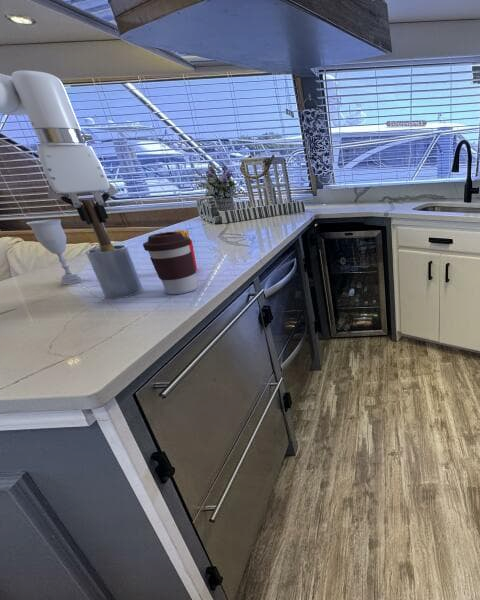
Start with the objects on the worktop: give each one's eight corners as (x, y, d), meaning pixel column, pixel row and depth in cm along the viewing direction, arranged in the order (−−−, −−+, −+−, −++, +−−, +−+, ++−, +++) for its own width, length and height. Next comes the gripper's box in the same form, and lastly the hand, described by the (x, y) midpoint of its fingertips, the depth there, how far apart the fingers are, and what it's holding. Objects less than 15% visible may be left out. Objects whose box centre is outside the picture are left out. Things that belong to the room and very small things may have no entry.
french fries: (197, 267, 106) (185, 227, 101) (201, 269, 103) (189, 229, 98) (164, 274, 100) (150, 232, 95) (168, 277, 97) (153, 234, 92)
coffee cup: (175, 284, 90) (157, 231, 84) (210, 282, 91) (195, 229, 85) (151, 298, 81) (130, 239, 75) (191, 296, 81) (172, 237, 76)
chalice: (50, 284, 95) (19, 223, 87) (77, 277, 101) (50, 219, 93) (67, 286, 93) (36, 223, 85) (93, 278, 98) (67, 219, 91)
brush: (107, 272, 81) (76, 200, 74) (105, 269, 83) (74, 199, 76) (126, 268, 83) (98, 198, 76) (124, 266, 86) (96, 197, 79)
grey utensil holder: (107, 301, 81) (87, 254, 76) (103, 293, 86) (84, 249, 81) (145, 291, 86) (129, 247, 81) (139, 285, 91) (123, 243, 86)
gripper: (106, 141, 79) (134, 217, 86) (9, 140, 68) (50, 227, 76) (110, 138, 74) (139, 219, 81) (7, 137, 64) (51, 230, 71)
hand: (96, 222), depth 78 cm, fingers closed on brush, 2 cm apart
